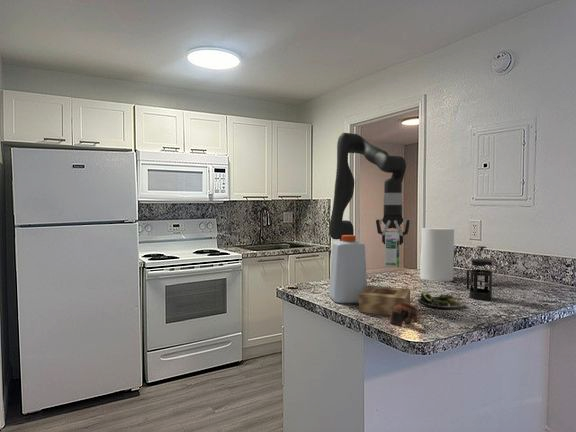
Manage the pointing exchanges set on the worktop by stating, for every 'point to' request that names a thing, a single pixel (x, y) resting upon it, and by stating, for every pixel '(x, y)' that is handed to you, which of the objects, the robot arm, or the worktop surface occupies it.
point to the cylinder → (437, 254)
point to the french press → (474, 291)
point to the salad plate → (440, 301)
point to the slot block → (382, 299)
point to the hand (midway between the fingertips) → (392, 244)
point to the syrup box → (392, 249)
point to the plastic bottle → (347, 270)
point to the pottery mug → (398, 314)
